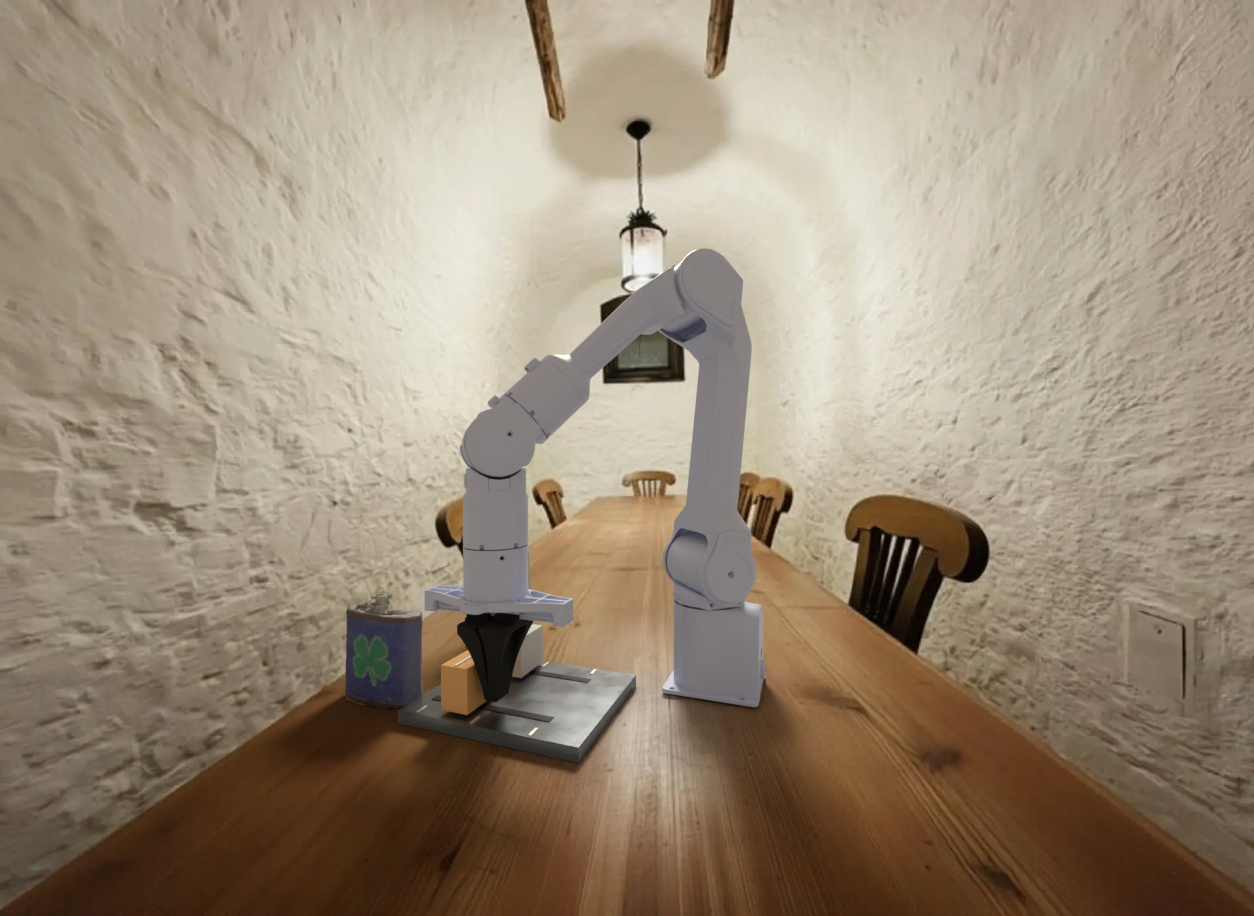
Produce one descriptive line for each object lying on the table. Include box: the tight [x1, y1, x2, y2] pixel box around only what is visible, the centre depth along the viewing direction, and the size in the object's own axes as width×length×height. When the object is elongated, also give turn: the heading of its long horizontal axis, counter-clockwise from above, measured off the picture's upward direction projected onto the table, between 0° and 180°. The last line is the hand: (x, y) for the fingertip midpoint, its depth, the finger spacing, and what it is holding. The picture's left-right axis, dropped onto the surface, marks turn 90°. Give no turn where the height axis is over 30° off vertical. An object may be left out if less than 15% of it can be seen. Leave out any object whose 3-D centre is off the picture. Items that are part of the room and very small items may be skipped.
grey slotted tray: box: [397, 660, 637, 764], centre depth 48 cm, size 18×14×1 cm
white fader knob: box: [512, 623, 544, 678], centre depth 53 cm, size 3×4×4 cm, turn 160°
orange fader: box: [440, 649, 487, 715], centre depth 46 cm, size 3×4×4 cm, turn 160°
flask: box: [344, 591, 424, 712], centre depth 49 cm, size 9×3×11 cm, turn 68°
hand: (496, 696), depth 45 cm, fingers closed
